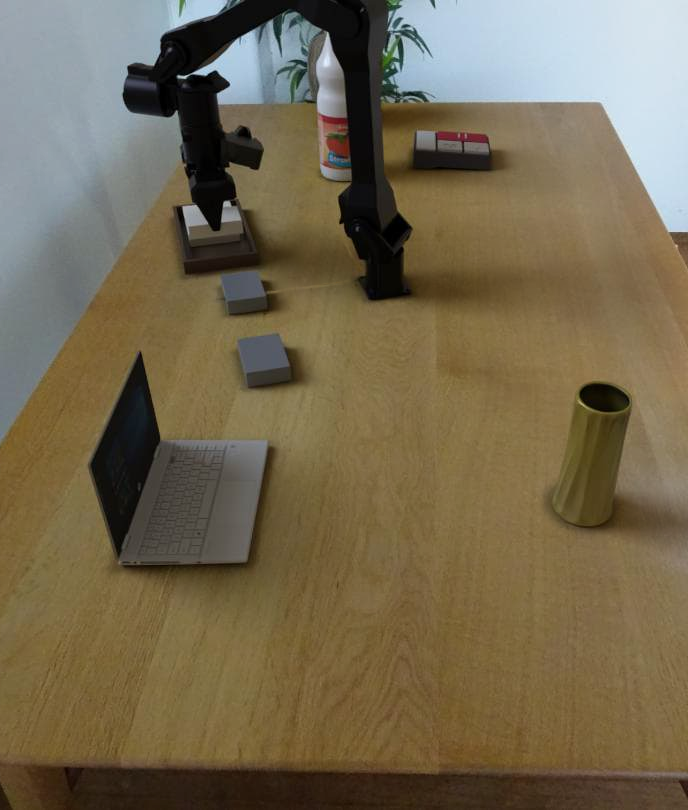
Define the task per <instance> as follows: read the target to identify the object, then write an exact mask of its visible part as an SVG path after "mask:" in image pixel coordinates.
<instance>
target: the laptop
mask: <svg viewBox="0 0 688 810" xmlns="http://www.w3.org/2000/svg"><path fill="white" fill-rule="evenodd" d="M143 357H144V356H143V353H142V351H141V349H138V350H137V352H136V354H135V356H134V359H133V361H132V363H131V365H130V367H129V370H128V372H127V374H126V377H125V378H124V381H123V383H122V385H121V387H120V389H119V392H118V394H117V397H116V398H115V401H114V403H113V406H112V408H111V410H110V411H109V415H108V417H107V419H106V421H105V423H104V426H103V428H102V430H101V432H100V434H99V437H98V439H97V441H96V443H95V446H94V448H93V450H92V453H91V455H90V457H89V459H88V461H87V469H88V473H89V475H90V480H91V482H92V486H93V489H94V492H95V496H96V499H97V503H98V507H99V509H100V512H101V516H102V520H103V522H104V526H105V529H106V532H107V536H108V539H109V543H110V545H111V549H112V552H113V556H114V559H115V561H117V560H118V563H117V564H118V565H120V566H159V565H160V566H161V565H162V566H163V565H166V566H167V565H206V564H209V565H211V564H238V563H239V564H241V563H247V562H248V559H249V553H250V549H251V544H252V538H253V533H254V532H253V531H254V527H255V522H256V520H255V519H256V515H257V511H258V504H259V499H260V494H261V489H262V484H263V477H264V472H265V466H266V461H267V457H268V450H269V445H270V441H269V440H268V439H161V433H160V432H161V431H160V428H159V424H158V420H157V414H156V411H155V407H154V402H153V397H152V393H151V389H150V384H149V379H148V375H147V371H146V367H145V362H144V358H143Z"/></svg>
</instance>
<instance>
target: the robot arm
mask: <svg viewBox="0 0 688 810" xmlns="http://www.w3.org/2000/svg"><path fill="white" fill-rule="evenodd" d="M289 11H293V12H296V13H297V14H299V15H300V16H301V17H302V18H303V19H305V20H306V21H307V22H308V23H309V24H311V25H312V26H314V27H315V28H318V29H319V30H322V31H324V32H325V33H327V32H328V34H329V38H330V42H331V46H332V51H333V53H334V55H335V57H336V59H337V60H338V62H339V64H340V66H341V68H342V71H343V75H344V87H345V100H346V113H347V126H348V139H349V152H350V165H351V181H350V184H349V185H348V186H347V187H345V188H344V190H343V191H342V192H340V194H339V195H338V196H337V203H338V207H339V211H340V218H339V222H338V224H339V225H343V230H344V233H345V235H346V237H347V238H349V239H350V240H351V242H352V244H353V247H354V249H355V252H356V255H357V258H358V259H359V260H360V261H364V275H359V276H358V282H359V284H360V286H361V288H362V290H363V292H364V293H365V295H366V297H367V299H368V300H378V299H385V298H391V297H399V296H405V295H411V294H412V289H411V287H410V286H409V284H408V282H407V280H406V279H405V248H404V245H405V244H406V242H408V240H410V237H411V235H412V232H413V230H414V229H413V226H412V225H411V224H410V223H409V222H408V221H407V220H406V218H405V217H404V216H403V214H401V213H400V211H398V207H397V202H396V198H395V193H394V190H393V187H392V185H391V184H390V182H389V181H390V180H388V178H387V175H386V172H385V156H384V155H385V153H384V137H383V135H384V134H383V117H382V116H383V115H382V114H383V113H382V98H381V97H382V94H381V95H380V75H379V66H380V61H381V57H382V58H383V54H384V50H385V47H386V46H385V45H386V42H387V36H388V35H387V34H388V27H389V26H388V25H389V17H390V10H389V5H388V2H387V0H239V1H237V2H236V3H233V4H231V5H230V6H229V7H227V8H225V9H224V10H221V11H219V12H218V13H215V14H212V15H208V16H204V17H201V18H198V19H195V20H192V21H189V22H187V23H184V24H182V25H180V26H177V27H175V28H172V29H169V30H168V31H165V32H164V33H163V34H162V35H161V37H160V39H159V43H160V44H159V49H160V52H159V54H158V56H157V59H156V61H155V62H154V64H153V65H150V64H145V63H143V62H136V61H135V62H132V63H131V64H128V65H127V66H126V70H127V75H126V77H125V80H124V83H123V91H122V93H121V97H122V101H123V104H124V106H125V108H126V109H127V110H128V111H129V112H130V113H132V114H138V115H144V116H152V117H160V118H171V117H173V116H174V115H175V114H176V112H177V118H178V123H179V124H178V127H179V132H180V137H181V142H182V143H181V144H180V145H179V151H180V152H179V153H180V157H181V163H182V165H185V166H184V167H183V168H184V173H185V175H186V178H187V180H188V181H187V184H188V189H189V195H190V199H191V204H196V205H197V207H198V208H199V210H200V211H201V213H202V214H203V216H204V218H205V219H206V221H207V222H208V224H209V226H210V227H211V229H212V230H213V231H214V232H215V231H220V229H221V220H222V211H223V204H224V201H225V200H233V199H238V196H237V188H236V183H235V181H234V177H233V175H231V174H229V172H227V171H226V169H228V168H231V164H234V165H238V166H242V167H246V168H249V169H250V170H252V171H259V170H260V167H261V163H262V160H263V156H264V151H265V148H264V146H263V143H262V141H260V140H258V138H257V137H252V133H251V130H250V127H249V126H245V125H241V124H239V125H238V126H237V127H236V129H235V130H233V131H230V132H228V131H227V132H226V131H225V130H224V127H223V124H222V123H221V116H220V108H219V100H218V94H219V93H221V92H223V91H225V90H226V89H228V88H230V87H231V83H230V81H228V79H226V78H225V77H224V76H222V75H221V74H220V73H219V71H218V70H216V69H215V70H212V71H211V72H209V73H207V74H196V73H195V72H197V71H199V70H202V69H203V68H205V67H208V66H209V65H211V64H213V63H214V62H215V61H216V60H218V59H219V58H220V57H221V56H222V55H223V54H225V52H226V51H228V50H229V48H230V47H231V46H232V45H233V43H235V42H236V41H237V40H238V39H240V38H241V37H243V36H246V35H247V34H249V33H251V32H253V31H255V30H256V29H258V28H260V27H263V26H264V25H265V24H267V23H269V22H271V21H272V20H275V19H277V18H278V17H280V16H282V15H284V14H285V13H287V12H289ZM178 76H180V77H178ZM181 77H185V78H181Z"/></svg>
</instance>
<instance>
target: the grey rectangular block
mask: <svg viewBox="0 0 688 810" xmlns="http://www.w3.org/2000/svg"><path fill="white" fill-rule="evenodd" d="M219 277H220V284H221V288H222V292H223V298H224V302H225V305H226V309H227V314H228V315H229V316H231V315H239V314H244V313H245V314H246V313H250V312H259V311H266V310H268V299H267V295H266V291H265V289H264V288H265V287H264V285H263V282H262V280H261V277H260V274H259V271H258V270H257V269H256V270H255V269H254V270H248V271H241V272H233V273H226V274H220V275H219Z"/></svg>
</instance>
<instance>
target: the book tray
mask: <svg viewBox="0 0 688 810" xmlns="http://www.w3.org/2000/svg"><path fill="white" fill-rule="evenodd" d="M226 201H230V203H231V206H237V208H238V211H239V213H240V216H241V219H242V226H243V233H242V234H240V241H236V242H228V243H220V244H212V245H204V246H196V247H190V243H189V238H188V233H187V229H186V224H185V219H184V214H183V207H182V206H190V205H196V203H189V204H188V203H187V204H180V205H179V204H178V205H172V212H173V217H174V223H175V228H176V233H177V239H178V244H179V249H180V254H181V260H182V264H183V265H182V266H183V270H184V275H193V274H199V273H207V272H216V271H222V270H231V269H238V268H246V267H253V266H259V265H260V262H259V252H258V250H257V246H256V243H255V241H254V238H253V236H252V233H251V231H250V227H249V224H248V221H247V219H246V216H245V213H244V210H243V208H242V204H241V201H240V199H239V198H235V199H233V200H225V201H224V202H226Z"/></svg>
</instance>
